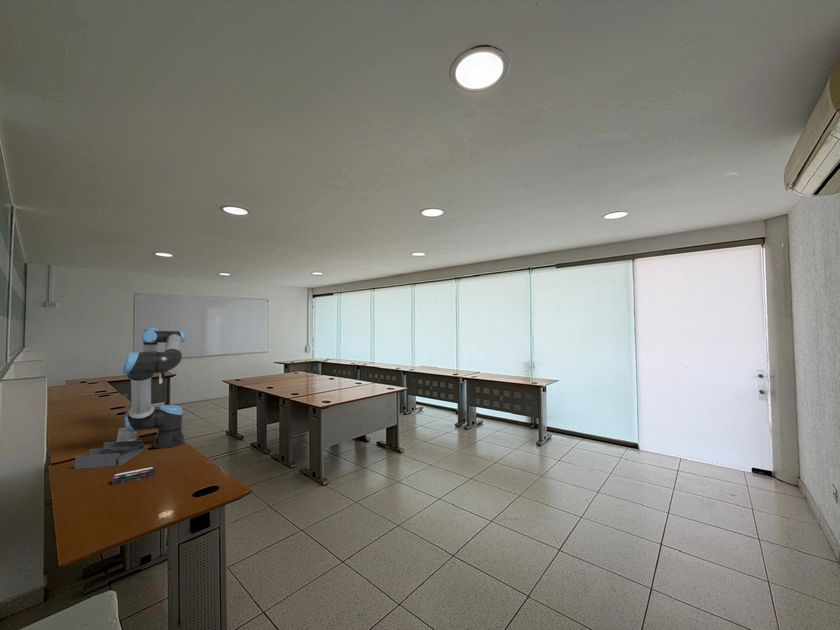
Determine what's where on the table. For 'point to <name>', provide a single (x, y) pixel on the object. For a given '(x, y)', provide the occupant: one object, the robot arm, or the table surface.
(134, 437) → the ink box
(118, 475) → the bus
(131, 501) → the table surface
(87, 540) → the table surface
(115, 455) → the rack
